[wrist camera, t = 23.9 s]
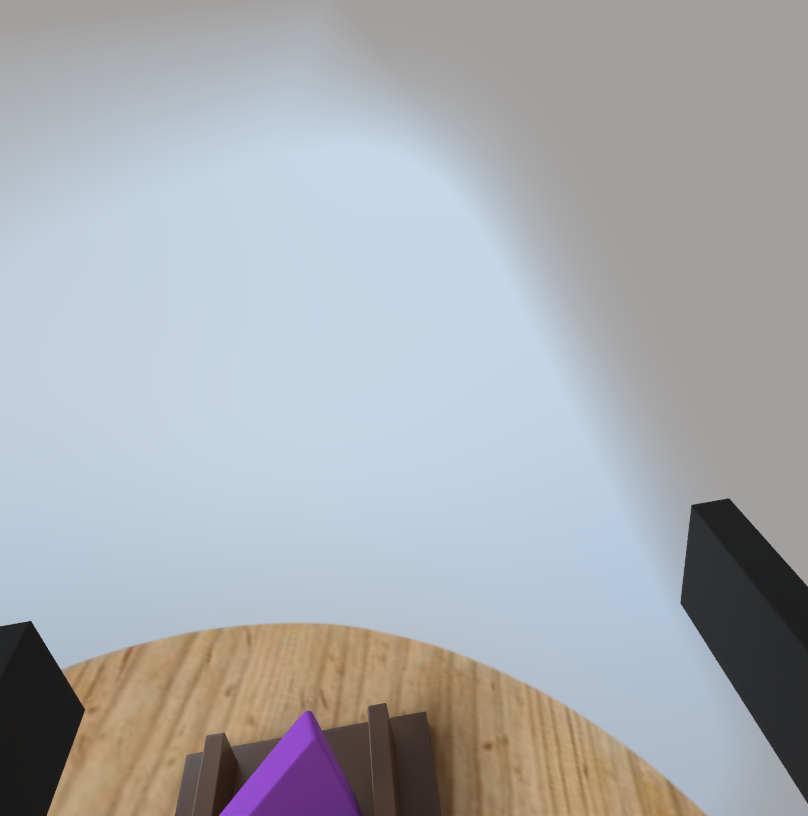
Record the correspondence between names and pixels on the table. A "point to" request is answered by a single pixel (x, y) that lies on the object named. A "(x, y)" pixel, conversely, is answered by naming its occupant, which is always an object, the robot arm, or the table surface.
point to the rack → (356, 754)
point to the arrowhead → (297, 779)
